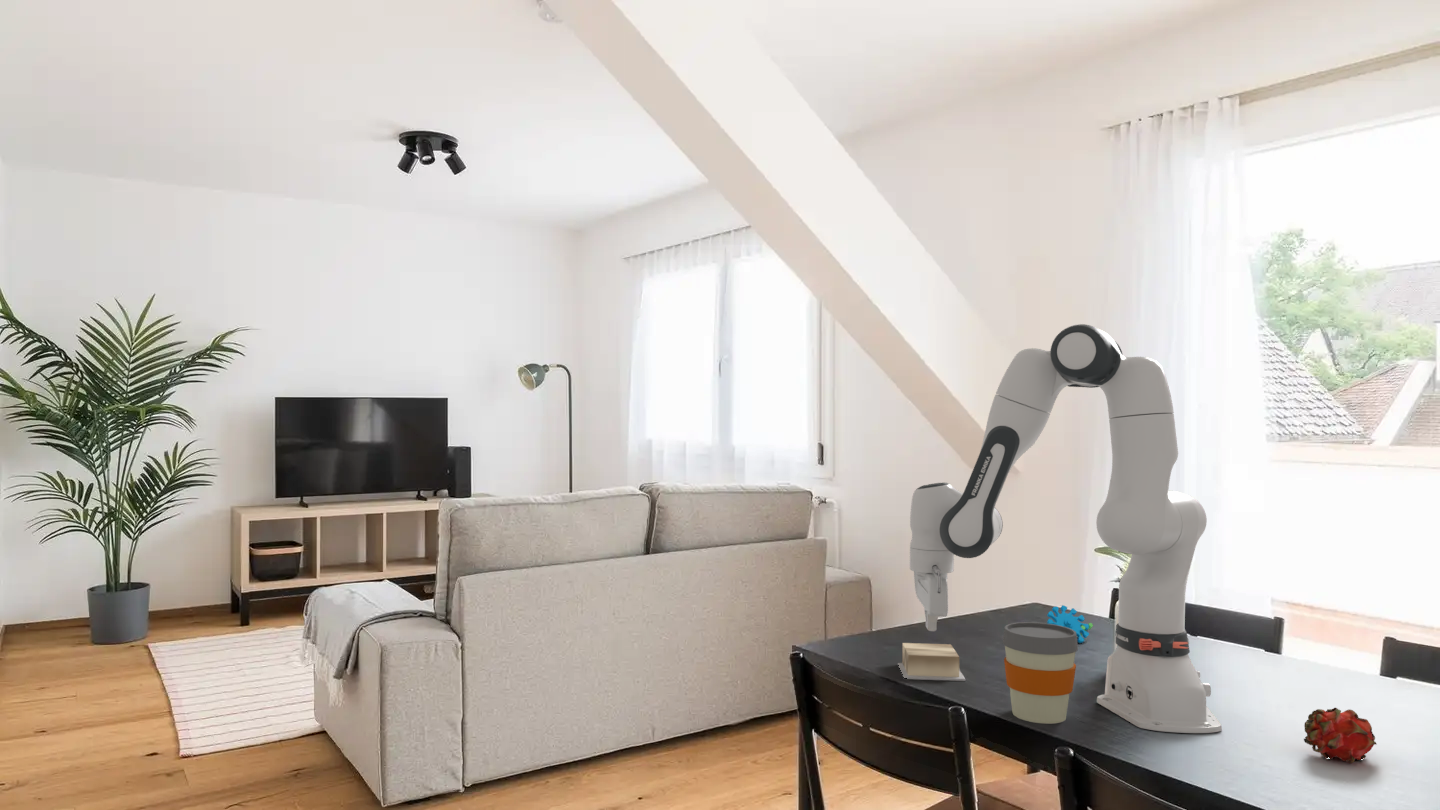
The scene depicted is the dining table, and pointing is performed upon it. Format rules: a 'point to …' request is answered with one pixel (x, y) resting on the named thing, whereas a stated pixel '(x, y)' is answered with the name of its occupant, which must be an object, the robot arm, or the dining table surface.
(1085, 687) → the dining table surface
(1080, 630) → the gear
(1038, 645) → the reusable coffee cup
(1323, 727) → the dragon fruit
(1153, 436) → the robot arm
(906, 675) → the mat
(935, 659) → the birch slab
